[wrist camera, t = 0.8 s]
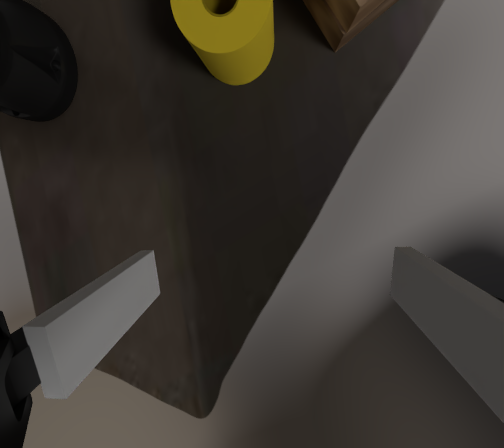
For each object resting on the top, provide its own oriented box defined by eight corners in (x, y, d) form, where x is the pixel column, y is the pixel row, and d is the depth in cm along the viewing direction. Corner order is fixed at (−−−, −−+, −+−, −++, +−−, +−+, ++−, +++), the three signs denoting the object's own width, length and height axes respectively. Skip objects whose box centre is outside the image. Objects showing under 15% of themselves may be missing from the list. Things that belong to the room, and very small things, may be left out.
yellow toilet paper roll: (289, 29, 31) (294, -29, 22) (246, 100, 33) (234, 74, 24) (225, -18, 30) (203, -99, 21) (187, 57, 33) (152, 14, 24)
